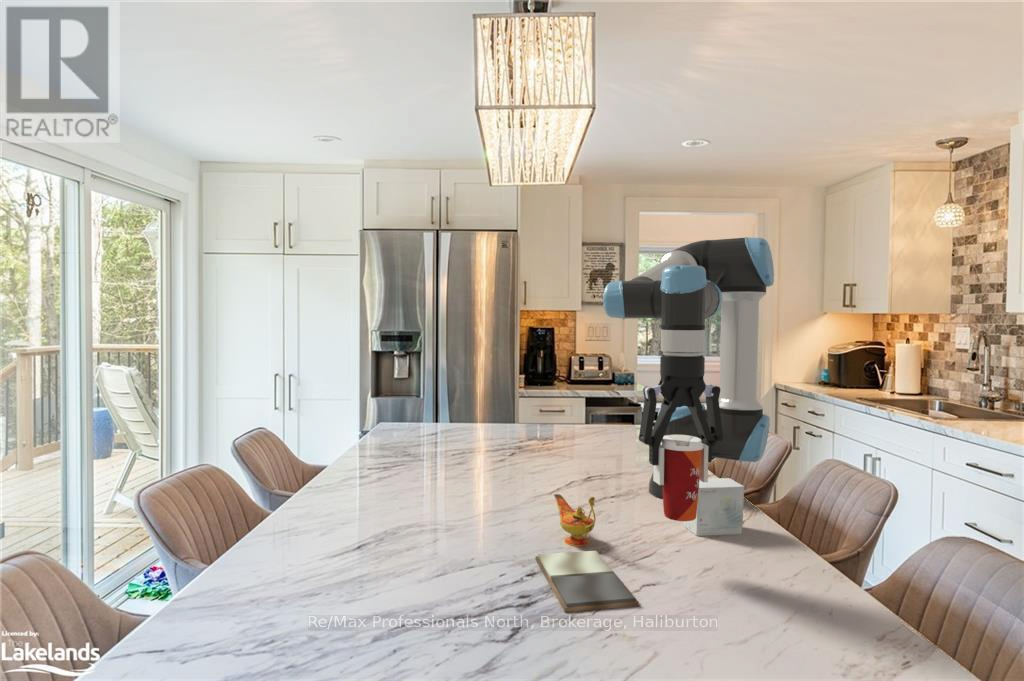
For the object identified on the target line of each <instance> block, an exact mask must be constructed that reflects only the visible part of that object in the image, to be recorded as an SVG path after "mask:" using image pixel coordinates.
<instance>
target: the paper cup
mask: <svg viewBox="0 0 1024 681" xmlns="http://www.w3.org/2000/svg"><path fill="white" fill-rule="evenodd" d="M660 446H661V447H663V448H664V485H662V488H663V498H662V505H663V515H664V517H665V518H667V519H669V520H672V521H677V522H684V521H692V520H694V519H696V514H697V504H698V492H699V480H700V467H701V454H702V449H703V448H704V446H703V445H702V441H701V439H700V438H698V437H694V436H689V435H666V436H664V437H663V439H662V442H661V444H660Z"/></svg>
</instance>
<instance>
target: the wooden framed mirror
mask: <svg viewBox="0 0 1024 681" xmlns="http://www.w3.org/2000/svg"><path fill="white" fill-rule="evenodd" d="M535 561H536V563H537V564H538V566H539V568H540V570H541V573H543V575H544V577H545V579H546V581H547V583H548V585H549V587H550V588H551V590H552V592H553V593H554V596H555V597H556V599H557V600H558V603H559V605H560V606H561V608H562V610H563V611H564V613H570V612H580V611H581V612H582V611H591V610H592V611H593V610H595V611H596V610H603V609H605V610H606V609H616V608H617V609H618V608H619V609H620V608H628V607H629V608H630V607H638V606H639V603H640V602H639V600H637V598H636V597H635V595H633V593H632V592H631V591H630V589H628V587H627V586H626V585H625V584H624V582H623V581H622V580H621V579H620V577H618V575H617V574H616V573H615V572H614V571H613V569H612V568H611V567H610V565H608V563H607V562H606V561H605V559H604V558H603V557H602V555H600V554H599V552H598V551H597V550H586V551H585V550H583V551H572V552H571V551H570V552H569V551H568V552H555V553H553V552H552V553H541V554H537V555H536V556H535Z"/></svg>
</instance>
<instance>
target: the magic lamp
mask: <svg viewBox="0 0 1024 681" xmlns="http://www.w3.org/2000/svg"><path fill="white" fill-rule="evenodd" d="M553 496H554V499H555V502H556V506H557V509H558V514H559V520H560V521H559V524H560V526H561V528H562V529H563V531H565V532H566V533H568V534H570V536H567V537H566V538H565V539H564V543H565V544H567V545H568V546H571V547H585V546H588V545H590V544H591V543H590V542H591V541H590V540H589V537H590V534H589V533H591V532H592V531H593V530H594V527H595V524H596V513H595V510H594V506H595V500H596V498H595V497H594V496H590V498H589V499H587V500H588V503H589V505H590V510H589V513H588V515H585V514H586V512H585V510H584V509H583V507H582V506H580V505H579V506H578V507H577V509H576V510H574V509H573V508H572V507H571V506H570V504H569V503H568V502H567V500H566V499H565V497H563V496H562V494H558V493H557V494H553ZM591 514H592V515H593V516H592V517H593V518H591ZM584 535H585V536H584Z"/></svg>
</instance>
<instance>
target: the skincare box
mask: <svg viewBox="0 0 1024 681" xmlns="http://www.w3.org/2000/svg"><path fill="white" fill-rule="evenodd" d="M744 496H745V486H744V485H743V484H741V483H739V482H737V481H735V480H733V479H732V478H729V477H722V478H720V477H719V478H708V482H702V481H700V480H699V492H698V504H697V514H696V519H694V520H692V521H683V526H684V527H685V528H687V529H688V530H689V531H690V532H691V533H692V534H694V535H695V536H696V537H700V536H701V537H702V536H703V537H704V536H726V535H730V536H731V535H742V534H743V524H744V523H743V522H744V520H743V518H744V503H745V502H744Z"/></svg>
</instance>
